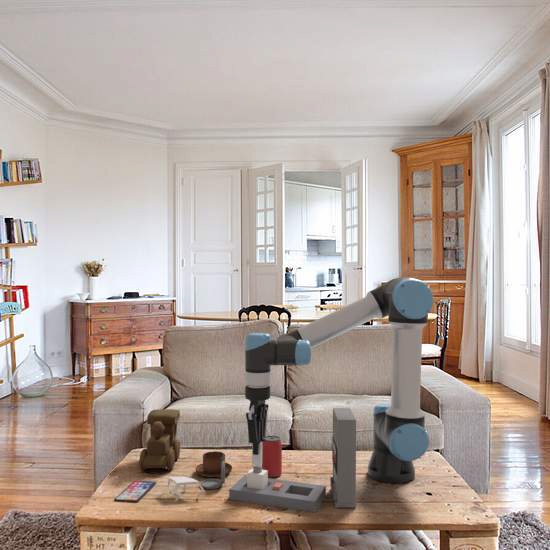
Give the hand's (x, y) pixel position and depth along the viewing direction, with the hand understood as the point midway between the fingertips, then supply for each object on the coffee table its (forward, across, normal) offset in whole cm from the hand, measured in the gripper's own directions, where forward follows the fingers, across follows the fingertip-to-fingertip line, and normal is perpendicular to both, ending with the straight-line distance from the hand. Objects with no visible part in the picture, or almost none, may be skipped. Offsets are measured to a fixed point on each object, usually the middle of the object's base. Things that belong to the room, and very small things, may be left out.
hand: (257, 464), depth 168 cm
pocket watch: (+9, -2, -15) cm, 17 cm away
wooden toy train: (+10, -13, -41) cm, 44 cm away
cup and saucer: (+10, -12, -20) cm, 25 cm away
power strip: (+9, 0, +7) cm, 11 cm away
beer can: (+9, -17, -1) cm, 19 cm away
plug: (+9, 0, 0) cm, 9 cm away
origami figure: (+10, +8, -20) cm, 23 cm away
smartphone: (+10, +10, -35) cm, 38 cm away
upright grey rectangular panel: (+9, -6, +25) cm, 27 cm away
